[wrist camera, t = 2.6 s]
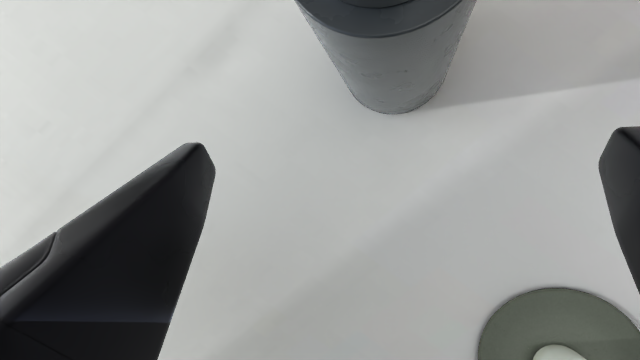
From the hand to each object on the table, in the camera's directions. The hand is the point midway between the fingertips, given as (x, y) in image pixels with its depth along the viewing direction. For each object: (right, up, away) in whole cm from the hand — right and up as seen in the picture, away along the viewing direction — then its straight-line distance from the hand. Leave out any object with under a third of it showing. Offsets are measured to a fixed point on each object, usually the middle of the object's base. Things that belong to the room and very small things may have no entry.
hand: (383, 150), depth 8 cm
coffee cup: (+10, -10, +10) cm, 18 cm away
